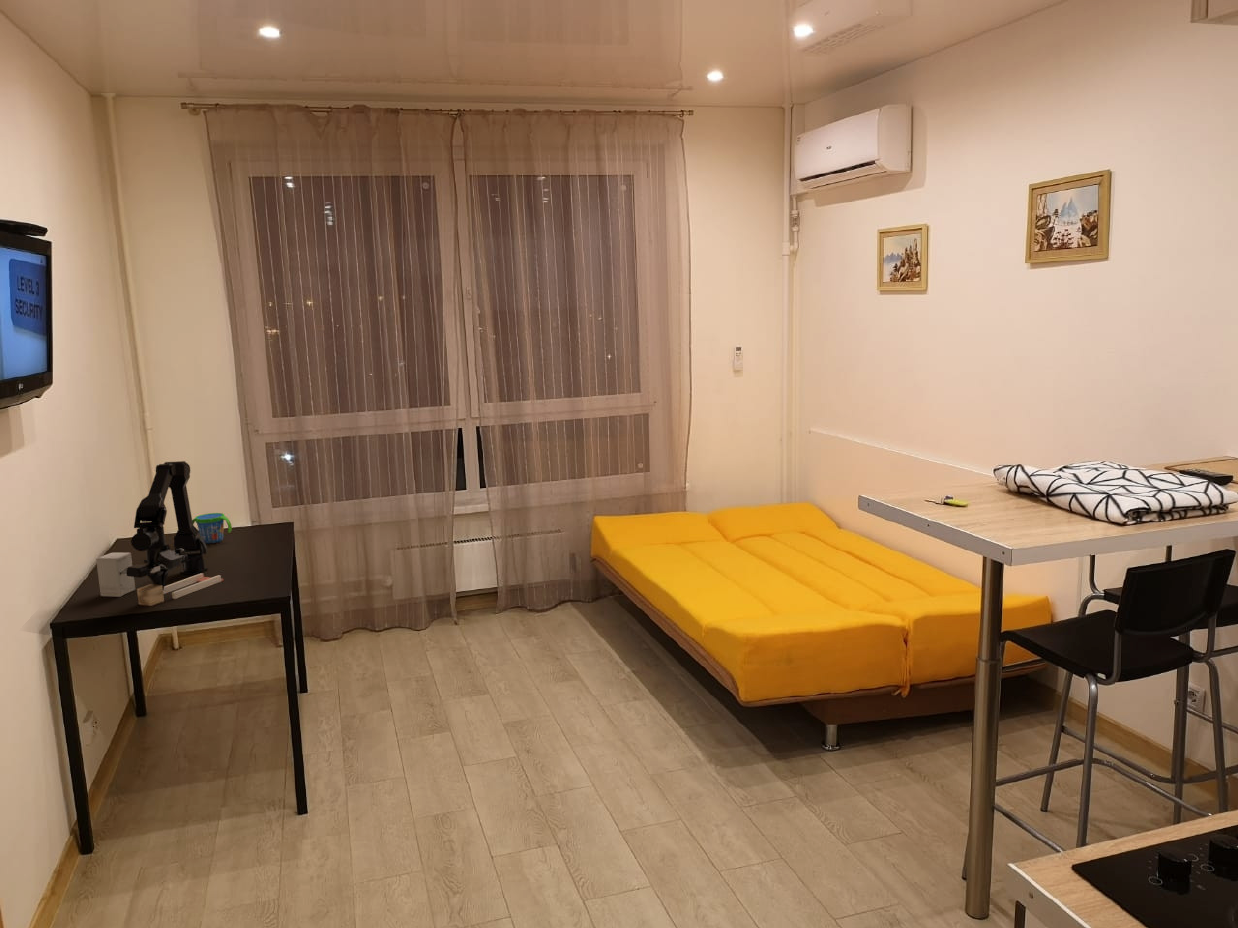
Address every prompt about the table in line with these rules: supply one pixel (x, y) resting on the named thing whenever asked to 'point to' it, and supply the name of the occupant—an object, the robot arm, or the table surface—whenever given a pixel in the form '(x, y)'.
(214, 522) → the snack cup
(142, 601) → the pine block
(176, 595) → the channel
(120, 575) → the supplement box
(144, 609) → the table surface
